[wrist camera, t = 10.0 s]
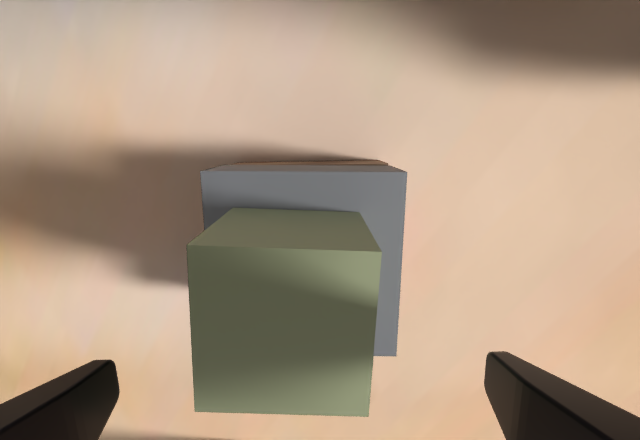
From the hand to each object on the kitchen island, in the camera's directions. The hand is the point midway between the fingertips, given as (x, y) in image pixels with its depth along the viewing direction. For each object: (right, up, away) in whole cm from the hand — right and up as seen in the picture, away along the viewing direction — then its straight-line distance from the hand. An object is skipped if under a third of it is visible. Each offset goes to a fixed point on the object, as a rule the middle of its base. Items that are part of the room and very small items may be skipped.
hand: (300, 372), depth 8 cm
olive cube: (-1, +2, +6) cm, 6 cm away
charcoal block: (0, +2, +9) cm, 10 cm away
